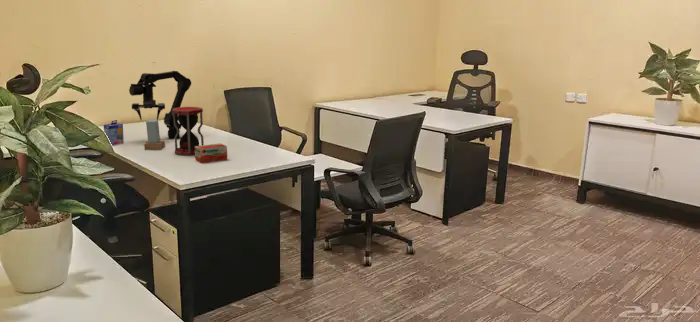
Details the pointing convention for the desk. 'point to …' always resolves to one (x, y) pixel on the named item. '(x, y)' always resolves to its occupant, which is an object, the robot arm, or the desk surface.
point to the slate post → (153, 131)
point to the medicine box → (210, 153)
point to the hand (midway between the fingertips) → (149, 120)
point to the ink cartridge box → (114, 132)
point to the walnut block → (154, 145)
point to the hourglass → (187, 129)
